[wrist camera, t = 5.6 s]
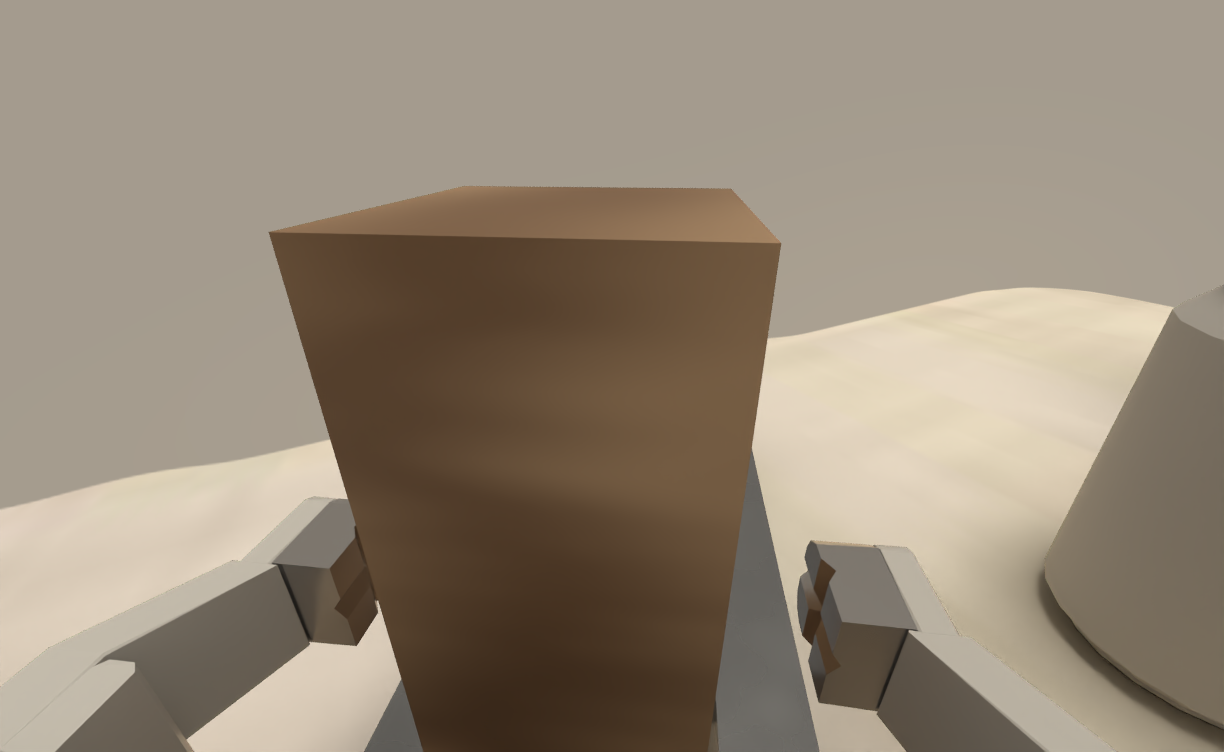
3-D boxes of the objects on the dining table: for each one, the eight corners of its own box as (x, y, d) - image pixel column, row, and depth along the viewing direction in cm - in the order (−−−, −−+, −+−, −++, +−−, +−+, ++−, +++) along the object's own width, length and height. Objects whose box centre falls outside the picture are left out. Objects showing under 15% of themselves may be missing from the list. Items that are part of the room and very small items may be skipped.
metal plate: (734, 432, 27) (739, 390, 26) (932, 1543, 6) (1010, 1580, 5) (555, 421, 28) (553, 380, 27) (164, 1313, 7) (74, 1297, 6)
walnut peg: (677, 747, 13) (730, 188, 7) (675, 973, 10) (780, 242, 4) (531, 727, 14) (463, 186, 8) (478, 936, 10) (267, 231, 4)
